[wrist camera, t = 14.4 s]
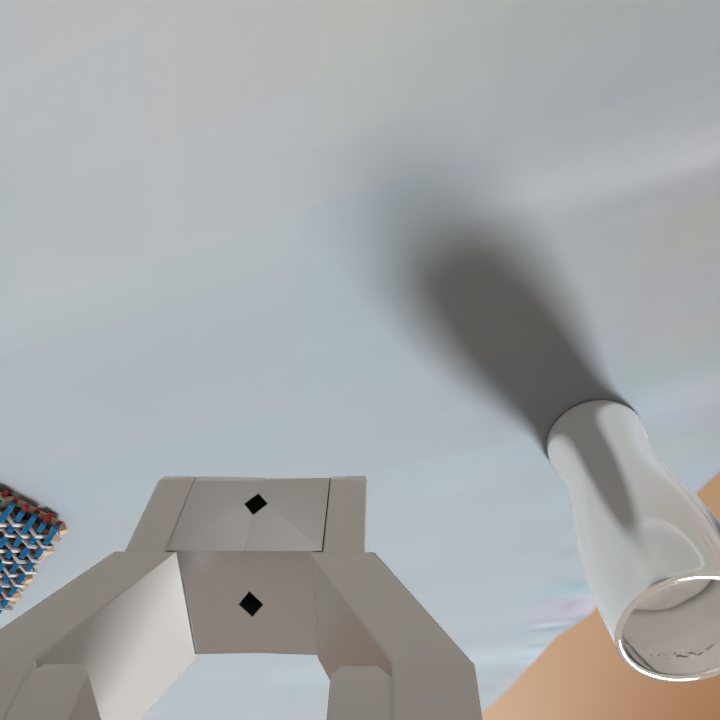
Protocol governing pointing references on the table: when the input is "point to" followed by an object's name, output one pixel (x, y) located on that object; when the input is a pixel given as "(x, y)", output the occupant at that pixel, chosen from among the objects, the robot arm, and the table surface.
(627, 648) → the beer glass
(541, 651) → the table surface
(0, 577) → the woven mat
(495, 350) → the table surface
